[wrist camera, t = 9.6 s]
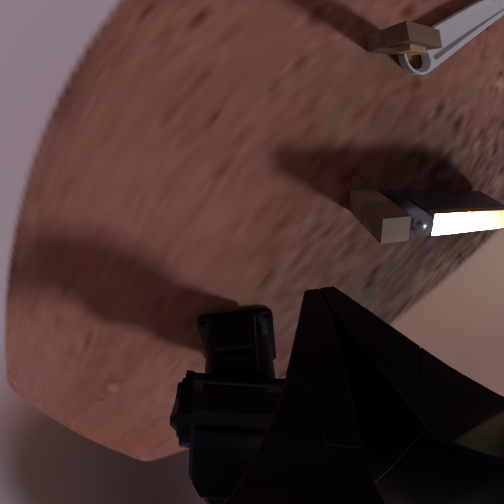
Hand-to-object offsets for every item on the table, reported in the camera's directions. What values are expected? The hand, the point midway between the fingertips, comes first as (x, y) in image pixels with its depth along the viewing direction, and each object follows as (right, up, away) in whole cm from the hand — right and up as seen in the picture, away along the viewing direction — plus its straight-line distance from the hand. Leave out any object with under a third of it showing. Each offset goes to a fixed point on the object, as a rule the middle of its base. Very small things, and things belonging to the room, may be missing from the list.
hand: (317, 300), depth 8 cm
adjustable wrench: (+18, +23, +4) cm, 30 cm away
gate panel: (+13, +6, +12) cm, 19 cm away
